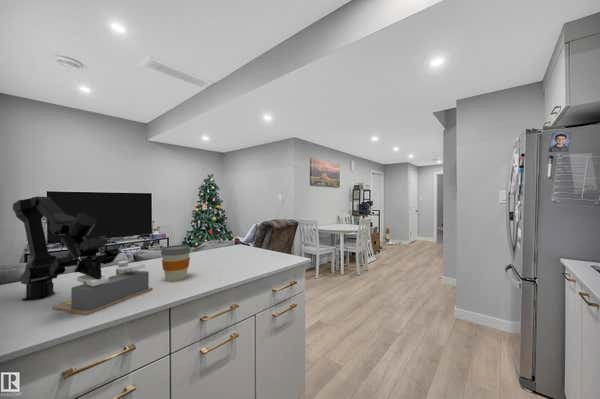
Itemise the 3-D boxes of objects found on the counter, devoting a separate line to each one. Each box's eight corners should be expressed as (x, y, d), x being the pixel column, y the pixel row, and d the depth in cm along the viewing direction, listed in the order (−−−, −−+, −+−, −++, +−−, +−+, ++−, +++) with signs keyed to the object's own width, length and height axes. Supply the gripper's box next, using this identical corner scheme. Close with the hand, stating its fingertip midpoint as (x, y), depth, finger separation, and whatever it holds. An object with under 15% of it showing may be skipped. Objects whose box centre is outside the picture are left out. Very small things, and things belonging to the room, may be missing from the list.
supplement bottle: (130, 280, 113) (130, 259, 113) (130, 283, 108) (130, 262, 109) (116, 282, 110) (116, 261, 110) (115, 285, 105) (115, 263, 106)
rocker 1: (76, 281, 82) (77, 276, 82) (93, 277, 87) (93, 272, 87) (92, 287, 79) (93, 282, 79) (108, 282, 84) (109, 277, 84)
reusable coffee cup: (188, 280, 111) (188, 248, 111) (157, 283, 107) (157, 250, 107) (192, 273, 123) (192, 244, 123) (165, 275, 119) (165, 245, 119)
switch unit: (52, 309, 82) (52, 286, 82) (122, 286, 105) (122, 268, 105) (86, 315, 77) (86, 291, 77) (152, 289, 99) (152, 271, 100)
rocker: (118, 274, 95) (118, 270, 95) (131, 270, 100) (130, 266, 100) (133, 271, 93) (132, 267, 93) (145, 268, 98) (144, 264, 98)
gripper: (54, 232, 75) (78, 269, 72) (116, 227, 93) (137, 256, 89) (39, 257, 77) (61, 293, 74) (102, 247, 95) (122, 276, 92)
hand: (99, 278), depth 82 cm, fingers closed, pressing on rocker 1
